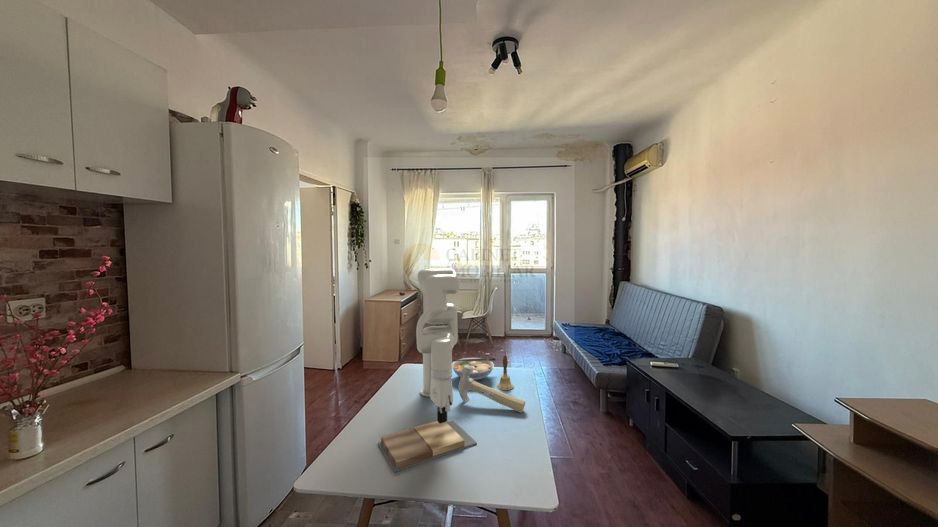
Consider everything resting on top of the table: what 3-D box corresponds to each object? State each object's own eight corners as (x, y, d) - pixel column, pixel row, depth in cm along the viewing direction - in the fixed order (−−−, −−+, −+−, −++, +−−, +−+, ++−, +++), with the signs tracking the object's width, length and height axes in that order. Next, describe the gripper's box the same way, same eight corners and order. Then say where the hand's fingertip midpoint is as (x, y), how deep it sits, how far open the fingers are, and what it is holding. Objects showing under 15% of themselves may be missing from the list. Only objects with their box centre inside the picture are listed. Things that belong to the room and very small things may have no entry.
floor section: (378, 444, 123) (377, 436, 123) (453, 421, 138) (453, 415, 138) (394, 472, 107) (394, 464, 107) (476, 444, 122) (476, 437, 122)
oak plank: (413, 432, 129) (413, 427, 129) (443, 424, 135) (443, 419, 135) (432, 456, 114) (432, 450, 114) (464, 445, 120) (464, 440, 120)
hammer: (529, 388, 147) (466, 363, 158) (526, 392, 142) (461, 366, 154) (520, 422, 149) (459, 394, 160) (517, 427, 145) (454, 398, 156)
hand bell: (493, 386, 173) (493, 354, 172) (505, 382, 178) (505, 351, 177) (504, 392, 166) (504, 359, 165) (517, 387, 171) (517, 355, 170)
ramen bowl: (448, 387, 172) (448, 371, 171) (449, 370, 194) (449, 356, 194) (498, 386, 172) (498, 370, 172) (494, 370, 195) (494, 355, 195)
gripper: (424, 368, 130) (424, 415, 131) (441, 381, 117) (442, 434, 118) (442, 364, 134) (442, 410, 135) (460, 377, 121) (461, 428, 122)
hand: (442, 421), depth 127 cm, fingers closed
